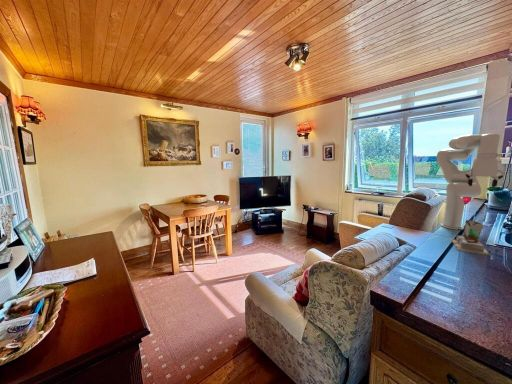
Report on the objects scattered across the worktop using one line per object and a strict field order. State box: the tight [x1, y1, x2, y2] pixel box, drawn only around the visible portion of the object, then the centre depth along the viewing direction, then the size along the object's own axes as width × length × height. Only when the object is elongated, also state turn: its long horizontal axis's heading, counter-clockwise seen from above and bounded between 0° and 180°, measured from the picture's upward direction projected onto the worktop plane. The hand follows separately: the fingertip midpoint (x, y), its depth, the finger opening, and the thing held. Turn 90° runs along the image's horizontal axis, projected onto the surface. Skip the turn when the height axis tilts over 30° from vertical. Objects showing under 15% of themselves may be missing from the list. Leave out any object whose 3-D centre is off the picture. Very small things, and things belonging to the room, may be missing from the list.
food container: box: [463, 219, 484, 243], centre depth 120 cm, size 12×6×10 cm, turn 145°
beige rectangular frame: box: [451, 234, 490, 256], centre depth 121 cm, size 16×12×4 cm
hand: (481, 186), depth 128 cm, fingers open, 9 cm apart
